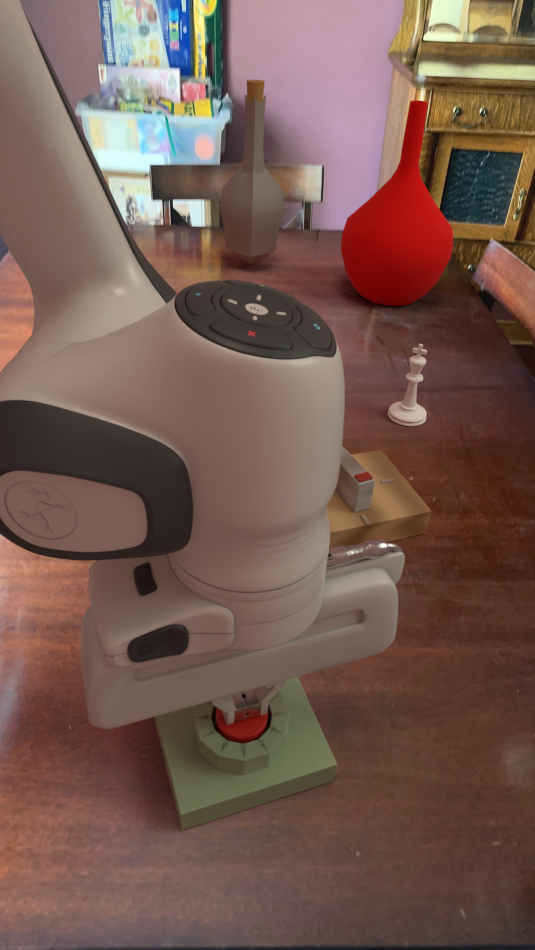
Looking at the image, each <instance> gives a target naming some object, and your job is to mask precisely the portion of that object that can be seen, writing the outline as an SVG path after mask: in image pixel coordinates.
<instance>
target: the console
mask: <svg viewBox="0 0 535 950" xmlns="http://www.w3.org/2000/svg"><path fill="white" fill-rule="evenodd" d="M351 455H352V456H353V458H354V459H355V460H356V461H357V462H358V463H359V464H360V465H361V466H362V467H363V468H364V469H365V470H366V471H367V472H368V473H369V474H370V475H371V476H372V477H373V479H374V480H375V483H374V488H373V494H372V499H371V505H370V508H368V509H365V510H361V511H358V512H354V511H353V510H352V509H351V507H350V506H349V505H348V504H347V503H346V502H345V500H344V499H343V498H342V497H341V496H340V494H339V493H338V492H337V491H336V490H335V491H334V494H333V496H332V498H331V499H330V501H329V503H328V505H327V515H328V519H329V524H330V545H329V549H331V548H336V547H341V546H350V545H358V544H361V543H363V542H365V541H368V540H372V539H385V540H386V541H387V543H390V542H393V541H397V540H402V539H406V538H412V537H416V536H421V535H424V534H427V532H428V531H427V530H428V527H429V523H430V519H431V515H432V510H431V508H430V507H429V506H428V505H427V504H426V502H425V500H423V499H422V497H421V496H420V495H419V494H418V493H417V492H416V490H415V489H414V488H413V486H412V485H411V484H410V483H409V481H407V479H406V478H405V476H404V475H403V474H402V473H401V472H400V471H399V470H398V468H397V467H396V466H395V464H393V462H392V461H391V459H390V458H389V457H388V456H387V454H386V453H385V452H384V451H383V450H382V449H375V450H370V451H365V452H360V453H353V454H351Z"/></svg>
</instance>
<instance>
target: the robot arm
mask: <svg viewBox="0 0 535 950" xmlns="http://www.w3.org/2000/svg"><path fill="white" fill-rule="evenodd" d="M0 238H1V239H2V241H3V242H4V245H5V247H7V249H8V251H9V252H10V254H11V256H12V257H13V260H15V262H16V264H17V266H18V267H19V269H20V271H21V272H22V274H23V276H24V277H25V279H26V281H27V283H28V285H29V288H30V291H31V295H32V299H33V307H34V308H33V310H34V311H33V312H34V313H33V314H34V317H33V325H32V331H31V335H30V336H29V337H28V338H27V340H26V341H25V342H24V344H23V345H22V346H21V348H20V349H19V350H18V351H17V353H16V354H15V355H14V356H13V358H12V359H10V360H9V361H8V362H7V363H6V364H5V366H4V367H3V368H2V369H1V371H0V536H2V537H3V538H5V539H6V540H7V541H9V542H10V543H12V544H13V545H15V546H17V547H19V548H22V549H24V550H25V551H28V552H30V553H33V554H35V555H39V556H42V557H47V558H53V559H59V560H60V559H61V560H68V561H69V560H70V561H83V562H85V561H91V562H92V561H93V562H92V563H91V564H90V566H89V567H88V596H89V606H88V607H87V609H86V611H85V612H84V615H83V617H82V620H81V624H80V632H79V664H80V674H81V681H82V689H83V694H84V696H83V697H84V702H85V707H86V712H87V718H88V722H89V724H90V725H91V726H93V727H96V728H99V729H101V730H107V731H108V730H113V729H117V728H120V727H123V726H127V725H130V724H134V723H137V722H141V721H145V720H148V719H151V718H154V717H156V716H159V715H163V714H166V713H170V712H174V711H177V710H181V709H184V708H188V707H192V706H195V705H199V704H202V703H206V702H209V701H211V703H212V705H214V706H215V707H217V708H218V709H220V710H221V711H222V713H223V716H224V719H225V722H226V725H230V724H233V723H236V722H239V721H242V720H245V719H249V718H253V717H257V716H260V715H264V714H267V711H268V701H270V700H271V699H272V698H273V697H274V696H275V694H276V693H277V692H278V691H279V690H280V689H281V688H282V687H283V686H284V685H285V684H286V680H288V679H292V678H295V677H298V678H299V677H302V676H307V675H310V674H313V673H317V672H320V671H323V670H328V669H331V668H334V667H337V666H341V665H346V664H349V663H352V662H356V661H359V660H364V659H366V658H370V657H374V656H378V655H380V654H382V653H384V652H385V651H386V650H387V649H388V648H389V647H390V646H391V645H392V644H393V643H394V642H395V640H396V635H397V629H398V621H399V594H398V589H397V588H398V587H397V586H396V585H397V584H398V583H399V581H400V580H401V578H402V576H403V571H404V567H405V563H406V556H405V551H404V550H403V548H402V547H401V546H400V545H399V544H397V543H395V542H387V541H386V540H385V539H372V540H368V541H365V542H363V543H361V544H358V545H350V546H341V547H336V548H331V549H329V545H330V524H329V519H328V515H327V505H328V503H329V501H330V499H331V498H332V496H333V494H334V491H335V488H336V486H337V482H338V477H339V469H340V461H341V452H342V446H343V441H344V427H345V410H346V409H345V406H346V405H345V404H346V381H345V370H344V369H345V368H344V363H343V358H342V354H341V349H340V347H339V345H338V341H337V340H336V339H337V338H336V337H335V334H334V333H333V331H332V329H331V328H330V326H329V325H328V324H327V323H326V321H325V320H324V319H323V318H322V317H321V316H320V315H319V314H318V313H317V312H316V311H315V310H314V309H313V308H311V307H310V306H308V305H307V304H305V303H304V302H302V301H301V300H300V299H297V298H296V297H295V296H293V295H291V294H289V293H287V292H286V291H282V290H280V289H278V288H275V287H272V286H269V285H265V284H261V283H258V282H253V281H248V280H239V279H224V280H221V279H219V280H206V281H199V282H196V283H193V284H191V285H188V286H186V287H183V288H182V289H181V290H179V291H178V292H177V291H175V290H174V288H173V286H171V285H170V283H168V282H167V280H166V279H164V277H163V276H161V274H160V273H159V272H158V271H157V269H155V267H154V266H153V265H152V264H151V263H150V261H149V260H148V259H147V257H146V256H145V255H144V253H143V252H142V250H141V249H140V247H139V246H138V244H137V242H136V240H135V239H134V237H133V235H132V234H131V231H130V230H129V227H128V225H127V223H126V221H125V219H124V217H123V215H122V213H121V211H120V209H119V206H118V204H117V202H116V200H115V198H114V195H113V192H112V191H111V189H110V187H109V184H108V181H107V180H106V178H105V176H104V174H103V172H102V170H101V167H100V165H99V163H98V161H97V159H96V157H95V154H94V152H93V150H92V148H91V145H90V144H89V141H88V139H87V137H86V134H85V132H84V130H83V129H82V126H81V124H80V122H79V119H78V118H77V115H76V114H75V111H74V108H73V107H72V105H71V102H70V100H69V98H68V96H67V94H66V92H65V89H64V87H63V86H62V83H61V81H60V79H59V77H58V75H57V72H56V70H55V68H54V66H53V63H52V62H51V60H50V58H49V57H48V54H47V52H46V50H45V48H44V47H43V44H42V42H41V40H40V38H39V36H38V35H37V32H36V30H35V28H34V27H33V25H32V23H31V21H30V19H29V17H28V15H27V14H26V11H25V9H24V7H23V5H22V3H21V1H20V0H0Z"/></svg>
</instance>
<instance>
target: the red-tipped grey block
mask: <svg viewBox="0 0 535 950" xmlns="http://www.w3.org/2000/svg"><path fill="white" fill-rule="evenodd" d="M352 455H353V454H351V453H350V452H349V451H348V450H347V449H346V448H345V447H344V446H343V445H342V452H341V461H340V469H339V477H338V482H337V486H336V488H335V490H336V491H337V492H338V493H339V494H340V496H341V497H342V498H343V499H344V500H345V502H346V503H347V504H348V505H349V506H350V507H351V509H352V510H353V511H354V512H358V511H361V510H365V509H368V508H370V505H371V499H372V494H373V488H374V483H375V480H374V479H373V477H372V476H371V475H370V474H369V473H368V472H367V471H366V470H365V469H364V468H363V467H362V466H361V465H360V464H359V463H358V462H357V461H356V460H355V459H354V458H353V456H352Z"/></svg>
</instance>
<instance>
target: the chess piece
mask: <svg viewBox="0 0 535 950" xmlns="http://www.w3.org/2000/svg"><path fill="white" fill-rule="evenodd" d="M423 346H424V344H423V343H419V344H418V347H412V351H411V352H412V353H415V354H416V355H412V356H411V357H409V360H408V361H409V365H410V371H409V372H407V373H406V375H405V379H406V380H407V381H409V382H408V386H407V387H406V392H405V395H404V397H403V400H401V401H395V402H394V403H392V404H390V406H389V407H388V411H387V416H388V418H389V419H390V420H391V421H392V422H394V423H396V424H397V425H401V426H405V427H417V426H421V425H423V424H424V423H425V422H426V421H427V416H428V415H427V413H428V412H427V410H426V409H425V408H424V407H423V406H422V405H421V404H418V402H417V395H418V394H417V393H418V383H420V382H423V380H424V375H423V374H422V373H421V372H422V370H423V368H424V367H425V365H426V364H427V359H426V358H425V357H424V356H426V355H427V354H428V349H424V347H423ZM422 355H424V356H422Z"/></svg>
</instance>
